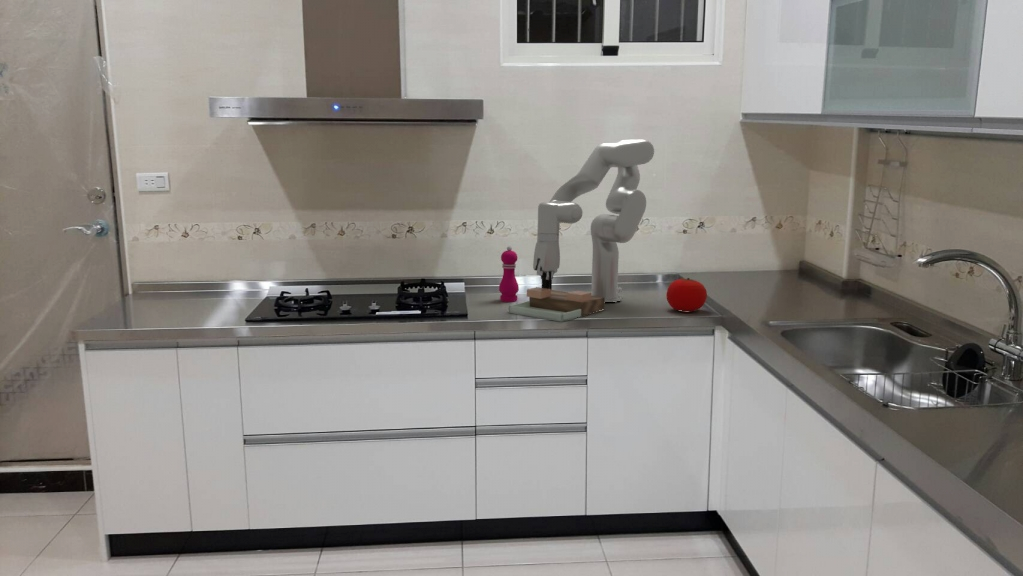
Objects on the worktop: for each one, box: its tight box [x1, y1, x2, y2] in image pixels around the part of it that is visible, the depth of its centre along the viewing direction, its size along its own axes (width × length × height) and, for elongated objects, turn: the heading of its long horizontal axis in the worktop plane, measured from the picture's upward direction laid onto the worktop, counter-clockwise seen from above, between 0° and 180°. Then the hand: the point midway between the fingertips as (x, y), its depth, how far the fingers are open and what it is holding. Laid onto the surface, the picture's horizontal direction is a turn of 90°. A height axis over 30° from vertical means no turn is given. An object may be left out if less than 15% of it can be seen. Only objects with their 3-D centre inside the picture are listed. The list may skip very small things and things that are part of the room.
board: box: [528, 289, 605, 317], centre depth 278 cm, size 14×22×4 cm, turn 52°
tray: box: [508, 300, 582, 323], centre depth 268 cm, size 11×22×2 cm, turn 52°
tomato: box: [665, 277, 708, 312], centre depth 276 cm, size 13×14×12 cm
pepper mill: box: [498, 245, 520, 303], centre depth 291 cm, size 7×7×20 cm
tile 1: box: [526, 286, 551, 299], centre depth 276 cm, size 6×6×2 cm
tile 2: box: [567, 290, 591, 302], centre depth 271 cm, size 6×6×2 cm
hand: (546, 290), depth 280 cm, fingers closed
